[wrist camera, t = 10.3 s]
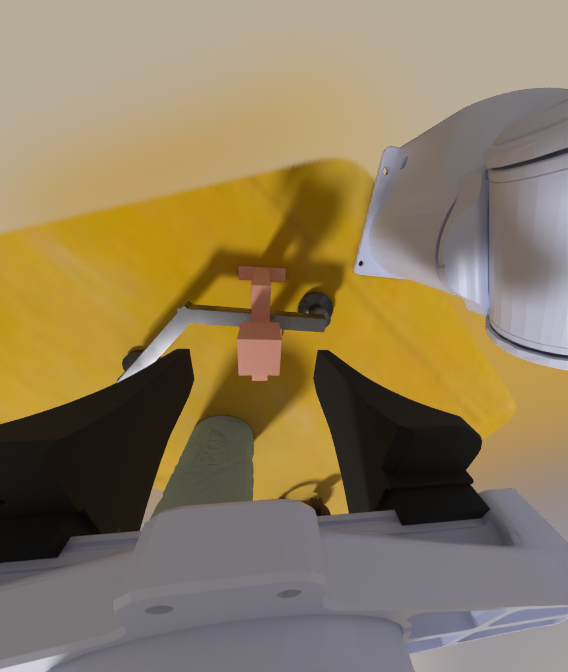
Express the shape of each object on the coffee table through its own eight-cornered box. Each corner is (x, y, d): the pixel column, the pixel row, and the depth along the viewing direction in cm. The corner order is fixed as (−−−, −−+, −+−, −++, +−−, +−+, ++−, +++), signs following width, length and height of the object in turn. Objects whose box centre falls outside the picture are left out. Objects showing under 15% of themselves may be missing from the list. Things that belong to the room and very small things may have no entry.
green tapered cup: (252, 459, 32) (245, 572, 22) (184, 456, 31) (141, 576, 20) (262, 413, 28) (261, 526, 17) (184, 406, 26) (129, 526, 16)
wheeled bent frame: (100, 272, 18) (55, 283, 14) (334, 293, 21) (350, 307, 17) (129, 376, 24) (102, 405, 20) (314, 382, 26) (323, 409, 22)
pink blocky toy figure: (285, 268, 19) (302, 298, 11) (281, 337, 23) (291, 404, 14) (238, 265, 19) (215, 295, 10) (241, 336, 22) (225, 405, 13)
